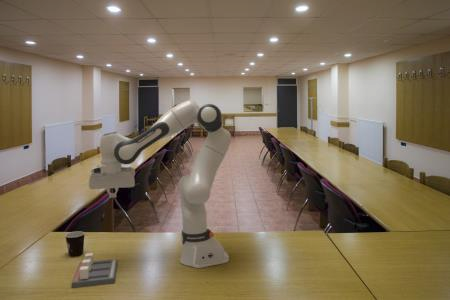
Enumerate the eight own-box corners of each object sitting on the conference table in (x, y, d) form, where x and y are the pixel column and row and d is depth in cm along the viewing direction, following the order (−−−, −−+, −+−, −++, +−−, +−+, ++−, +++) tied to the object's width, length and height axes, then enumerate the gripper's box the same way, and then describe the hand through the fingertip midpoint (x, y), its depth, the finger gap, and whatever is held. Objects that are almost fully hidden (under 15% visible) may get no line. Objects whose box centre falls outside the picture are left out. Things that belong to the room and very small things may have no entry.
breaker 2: (93, 261, 162) (93, 252, 162) (92, 264, 159) (92, 255, 159) (86, 262, 162) (85, 253, 161) (85, 264, 159) (84, 256, 158)
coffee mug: (67, 252, 179) (65, 232, 178) (85, 249, 182) (84, 230, 181) (65, 261, 169) (64, 240, 167) (85, 258, 172) (84, 238, 170)
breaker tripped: (91, 268, 156) (90, 259, 155) (90, 271, 153) (89, 261, 152) (83, 268, 155) (83, 259, 154) (82, 271, 152) (82, 262, 152)
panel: (117, 262, 166) (117, 258, 166) (114, 283, 147) (113, 278, 147) (80, 266, 163) (79, 262, 162) (71, 287, 143) (71, 282, 143)
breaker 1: (89, 275, 149) (88, 265, 148) (88, 278, 146) (87, 269, 145) (81, 276, 148) (80, 266, 148) (80, 279, 145) (79, 269, 145)
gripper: (134, 165, 172) (136, 194, 174) (89, 167, 168) (90, 197, 169) (134, 167, 166) (135, 197, 168) (87, 170, 162) (88, 200, 163)
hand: (112, 197), depth 168 cm, fingers closed
